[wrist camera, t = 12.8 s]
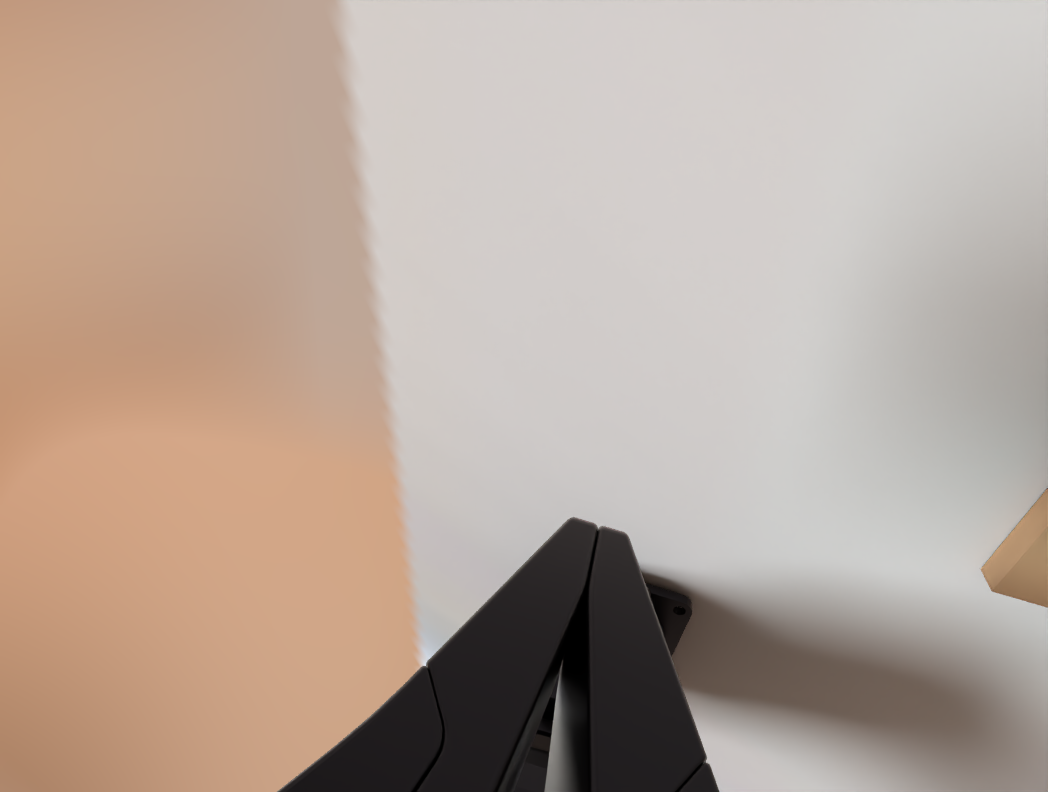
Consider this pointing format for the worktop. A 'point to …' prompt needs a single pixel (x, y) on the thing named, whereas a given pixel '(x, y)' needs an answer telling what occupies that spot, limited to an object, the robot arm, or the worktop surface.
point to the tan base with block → (1023, 558)
